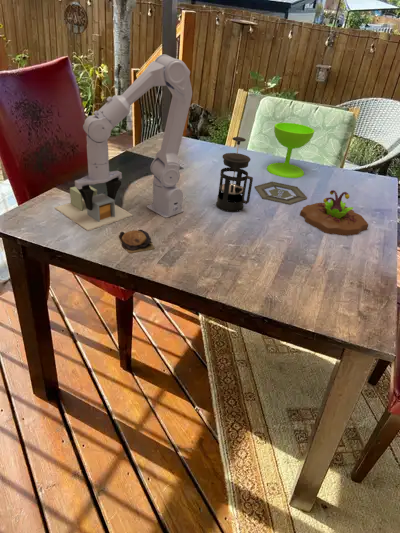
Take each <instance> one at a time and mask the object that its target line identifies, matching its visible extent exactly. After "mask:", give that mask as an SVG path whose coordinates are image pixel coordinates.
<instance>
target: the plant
mask: <svg viewBox="0 0 400 533" xmlns="http://www.w3.org/2000/svg"><path fill="white" fill-rule="evenodd" d="M329 194H330V195H332V196H333V195H334V196H335V198H334V197H326V198H324V199H323V201H322V202H316V203H312V204H307V205H305V206H303V207H302V209H300V213H299V216H300V217H302V218H303V219H304V222H305V223H306V224H308V225H310V226H312V227H314V228H315V229H317V230H319V231H321V232H323V233H325V234H329V235H338V236H354V235H359V233H360V232H363V231H368V229H369V228H368V227H369V223H368V222H367V221H366V220H365V218H364V217H363V216H362V215H361V214H359V213H356V212H355V210H354V207H353V206H349V207H348V206H346V202H343V201H342V199H343V197H344V198H345V199H346V200H349V199H350V197H351V196H350V194H349V193H348V192H347V191H344V192H343V191H342V193H341V194H340V195H339V196H338V193H337V192H336V190H334V189H332V190H330V191H329ZM329 200H330V201H329Z"/></svg>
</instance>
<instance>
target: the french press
mask: <svg viewBox="0 0 400 533" xmlns="http://www.w3.org/2000/svg"><path fill="white" fill-rule="evenodd" d="M232 140H233V141H235V142H236V145H237V148H236V152H228V153H224V154H222V159H223V165H224V166H226V167H223V168H222V169H220V173H219V174H220V178H219V187H218V194H217V198H216V199H217V200H216V204H215V206H216V208H218V209H219V210H221V211H224V212H229V213H237V212H240V211H243V209H244V207H245V206H244V205H247V204H249V202H250V198H251V192H252V186H253V181H254V180H253V179H254V178H253V177H252V176H250V175H249V172H248V171H246V168H248V167H249V162H251V159H252V158H250V156H248V155H245V154H244V153H239V147H240V144H241V142H242V143H243V142H246V141H247V140H246V139H245V138H244V137H241V136H234V137H232ZM244 169H245V170H244ZM226 172H233V176H231V175H230V176H229V175H227V174H226ZM235 173H237V174H235ZM235 175H236V176H235ZM243 175H244V176H243ZM248 180H249V184H248V191H247V194H246V189H247V188H246V187H247V183H248ZM223 181H224V182H223ZM234 182H235V183H234ZM242 182H243V186H241V184H242ZM245 194H246V200H245Z"/></svg>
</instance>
